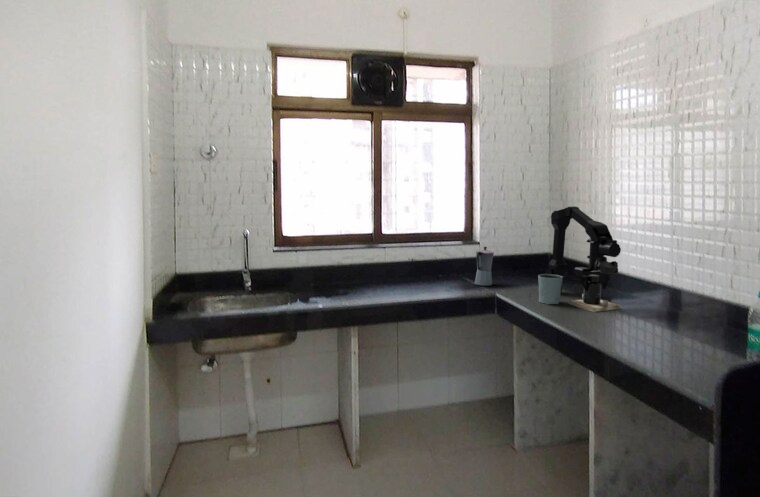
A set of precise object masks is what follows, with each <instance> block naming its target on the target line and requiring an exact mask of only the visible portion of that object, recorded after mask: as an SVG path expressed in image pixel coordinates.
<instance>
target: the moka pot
mask: <svg viewBox="0 0 760 497" xmlns="http://www.w3.org/2000/svg"><path fill="white" fill-rule="evenodd" d="M487 248H488V247H487V246H483V249H481V250H476V253H475V256H476V268H477V270H476V274H475V279H474V284H475V285H477V286H482V287H483V286H487V287H488V286H492V285H493V280H492V279H493V278H492V266H493V259H494V251H491V250H487Z"/></svg>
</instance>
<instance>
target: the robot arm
mask: <svg viewBox="0 0 760 497" xmlns="http://www.w3.org/2000/svg"><path fill="white" fill-rule="evenodd" d="M571 220H574V221H575V222H576V223H578V224H579V225H580V226H582V227H583V229H584V232H585V233H586V235H587V236H588V237H589V238H588V239H587V240H586V243H589V255H587V256H586V259H588V265H586V267H584V266H577V267H575V268H574V269H573V274H574V275H575V276H576V277H578V279H579V281H580V283H581V284H582V287H583V290H584V289H585V291H588V284H589V279H590V277H591V276H589V275H592V274H593V273H600V274H599V276H600V281H601V282H600V283H601V290H606V288H607V286H608V283H609V282H610V279H611V278H612V277H613V276H615V275H616V274H618V273H619V268H618V267H619V265H618V262H617V261H616V260H614V261H608V259H607V257H611V258H617V257H619V256H620V254H621V251H622V248H621V245H620V244H619V243H618V241H617V240H616V239H614V238H613V236H612V234H611V233H610V230H609V227H608V225H607V224H605V223H603V222H601V221H598V220H597V221H596V220H594V219H593V218H591V217H590V216H589V215H587V213H585V212H583V211H582V210H581V209H580V208H579V207H578V206H566V207H565V208H563V209H559V210H554V211H552V212H551V215H550V222H551V225H552V228H553V230H554V231H553V244H552V259H551V260H550V261H549V263H548V265H547V270H546V271H545V273H544V274H553V275H560V276H562V277H563V279H562V281H565V279H566V276H567V273H568V263H566V262H565V261H564V256H565V255H564V254H565V243H566V233H567V232H566V230H567V229H568V228H569V225H570V223H571ZM562 292H563V285H562V286H561V293H560V295H562Z"/></svg>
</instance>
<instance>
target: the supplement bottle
mask: <svg viewBox="0 0 760 497" xmlns="http://www.w3.org/2000/svg"><path fill="white" fill-rule="evenodd" d="M589 276H591V277H590V279H589V284H588V291H585V289H584V288H583V293H582V294H583V302H584V303H586V304H593V305H596V304H600V300H602V299H601V298H602V297H601V294H602V284H601V282H600V274H599V275H598V274H590V275H589Z"/></svg>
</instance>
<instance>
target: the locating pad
mask: <svg viewBox="0 0 760 497" xmlns="http://www.w3.org/2000/svg"><path fill="white" fill-rule="evenodd" d="M583 294H584V293H582V294H581V299H574V300H573V299H572V300H569V305H571V306H574V307H577V308H580V309H584V310H585V311H590V312H593V313H596V312H605V311H612V310H613V311H614V310H619V309H620V310H621V305H620V304H618V303H614V302H611V301H609V300H608V299H601V300H600V304H596V305H593V304H586V303H584V302H583Z"/></svg>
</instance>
